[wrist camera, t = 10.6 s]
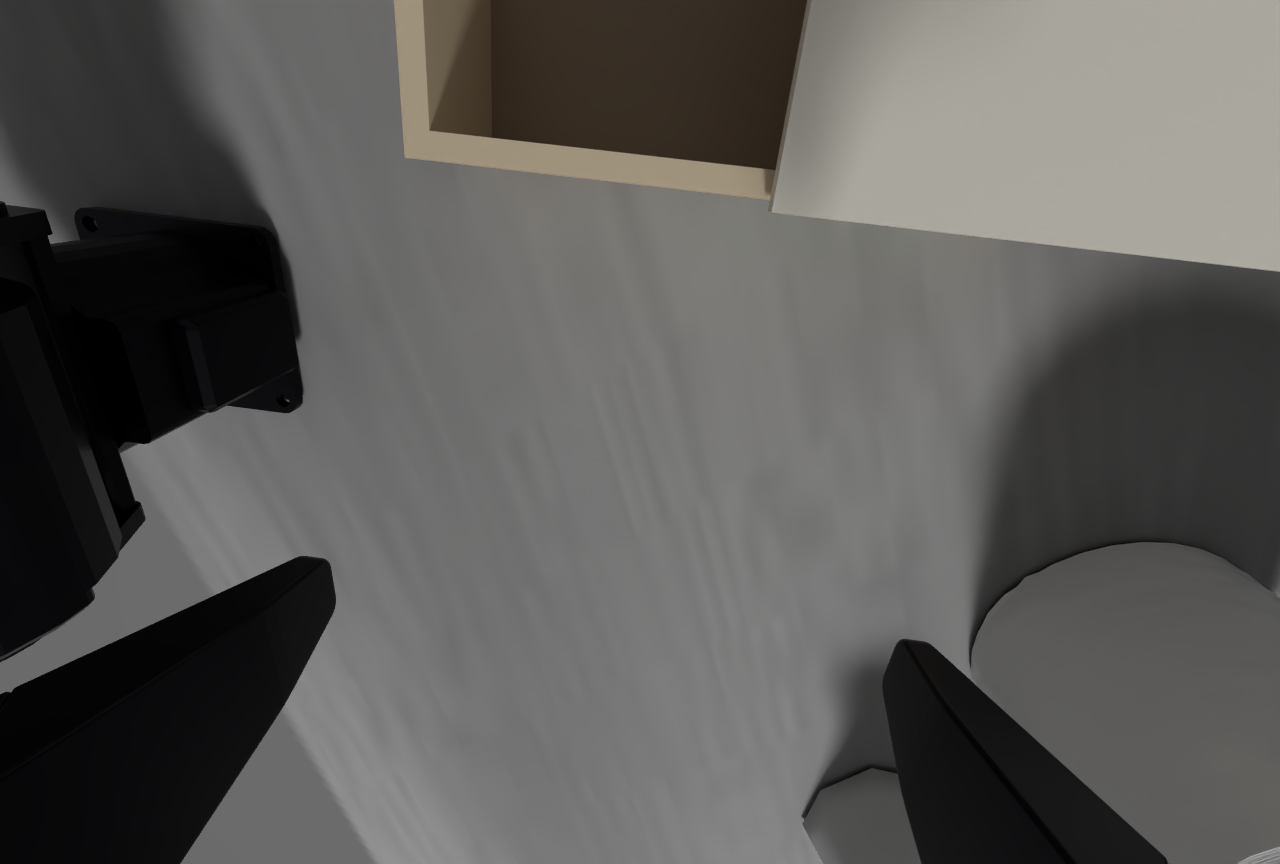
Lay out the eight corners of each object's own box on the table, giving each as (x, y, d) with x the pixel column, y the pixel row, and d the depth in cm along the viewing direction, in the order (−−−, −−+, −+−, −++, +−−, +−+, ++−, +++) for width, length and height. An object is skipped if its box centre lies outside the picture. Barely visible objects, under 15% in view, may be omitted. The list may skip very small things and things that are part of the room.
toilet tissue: (1276, 510, 20) (1748, 791, 11) (1240, 737, 25) (1553, 1065, 16) (957, 568, 22) (1137, 844, 13) (978, 767, 27) (1122, 1071, 18)
